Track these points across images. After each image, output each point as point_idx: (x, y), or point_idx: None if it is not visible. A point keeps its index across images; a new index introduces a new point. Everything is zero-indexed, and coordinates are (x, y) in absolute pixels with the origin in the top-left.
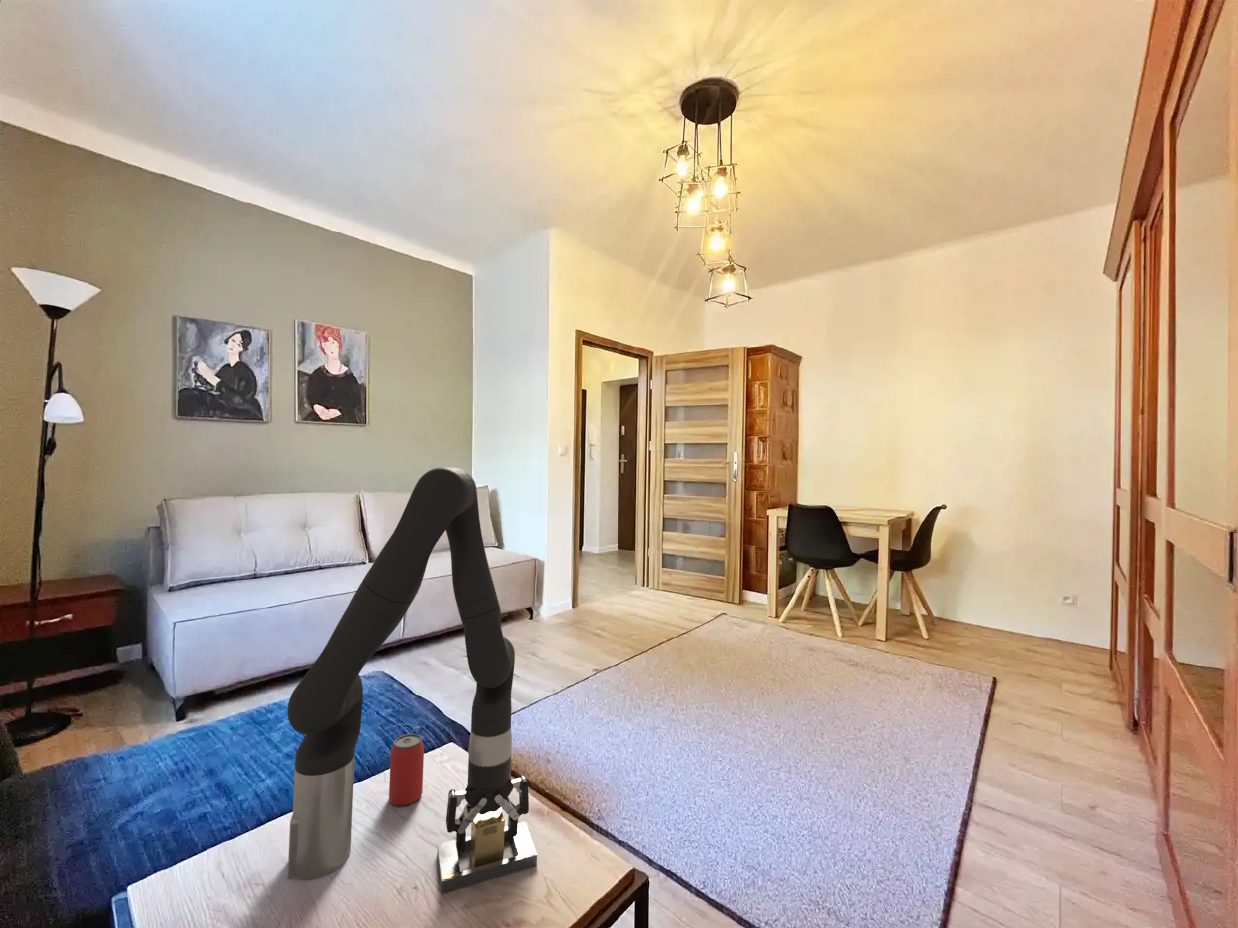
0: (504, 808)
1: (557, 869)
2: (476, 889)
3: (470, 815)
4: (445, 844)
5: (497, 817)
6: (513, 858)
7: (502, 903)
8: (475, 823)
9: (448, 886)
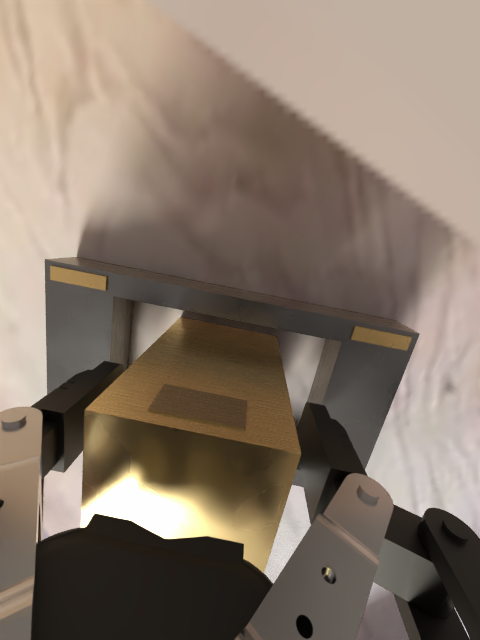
0: (21, 504)
1: (11, 198)
2: (292, 273)
3: (353, 584)
4: None
5: (125, 465)
6: (138, 291)
7: (237, 159)
8: (282, 492)
9: (380, 321)
